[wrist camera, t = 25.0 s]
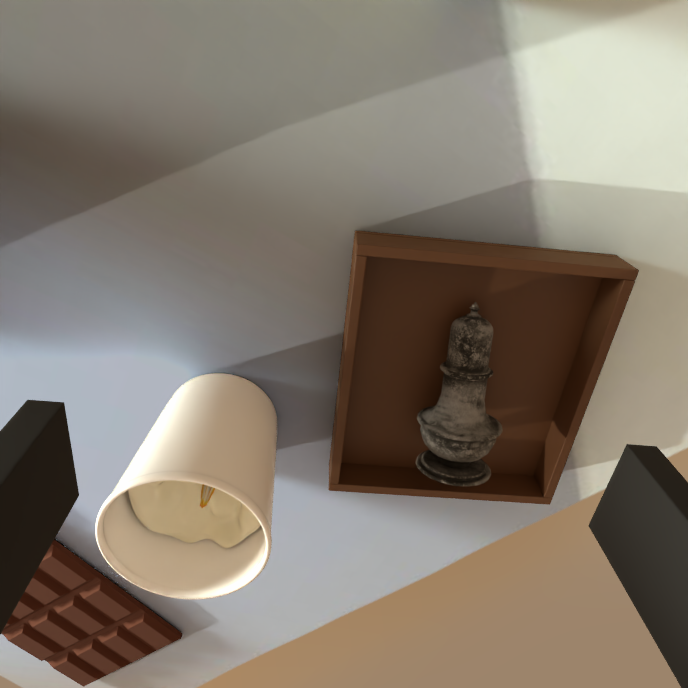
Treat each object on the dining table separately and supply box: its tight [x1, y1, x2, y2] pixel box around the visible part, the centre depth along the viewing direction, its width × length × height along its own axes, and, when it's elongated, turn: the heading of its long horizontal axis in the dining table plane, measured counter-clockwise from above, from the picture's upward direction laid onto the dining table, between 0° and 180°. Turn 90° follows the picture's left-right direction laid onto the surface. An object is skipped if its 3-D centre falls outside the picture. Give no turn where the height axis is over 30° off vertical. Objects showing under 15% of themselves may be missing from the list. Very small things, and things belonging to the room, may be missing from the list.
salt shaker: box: [416, 302, 503, 487], centre depth 36 cm, size 6×6×12 cm
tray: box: [329, 231, 639, 504], centre depth 37 cm, size 19×17×3 cm
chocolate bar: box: [1, 540, 182, 686], centre depth 48 cm, size 27×14×1 cm, turn 35°
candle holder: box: [95, 373, 277, 599], centre depth 35 cm, size 10×10×12 cm
